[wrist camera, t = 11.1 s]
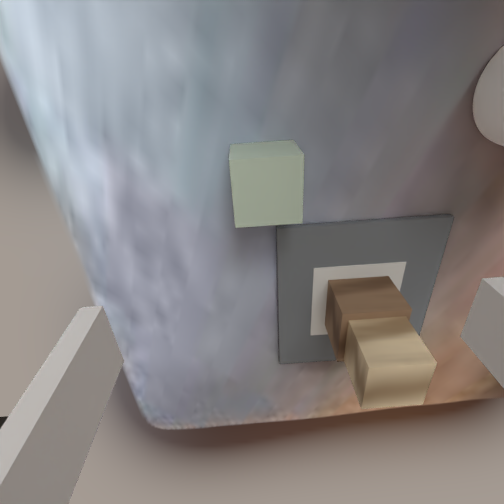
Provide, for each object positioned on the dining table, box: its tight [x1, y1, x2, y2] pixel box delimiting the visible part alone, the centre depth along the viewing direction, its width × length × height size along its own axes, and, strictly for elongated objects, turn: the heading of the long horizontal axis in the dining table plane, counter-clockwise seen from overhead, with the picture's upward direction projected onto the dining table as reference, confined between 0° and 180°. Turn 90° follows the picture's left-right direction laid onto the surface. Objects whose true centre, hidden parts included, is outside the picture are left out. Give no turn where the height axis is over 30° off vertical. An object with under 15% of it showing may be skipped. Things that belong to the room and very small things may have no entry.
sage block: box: [229, 140, 304, 228], centre depth 24 cm, size 5×5×5 cm
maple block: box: [344, 316, 437, 409], centre depth 26 cm, size 5×5×5 cm
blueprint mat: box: [276, 214, 454, 364], centre depth 33 cm, size 18×16×1 cm
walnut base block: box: [325, 276, 412, 362], centre depth 31 cm, size 6×6×5 cm
